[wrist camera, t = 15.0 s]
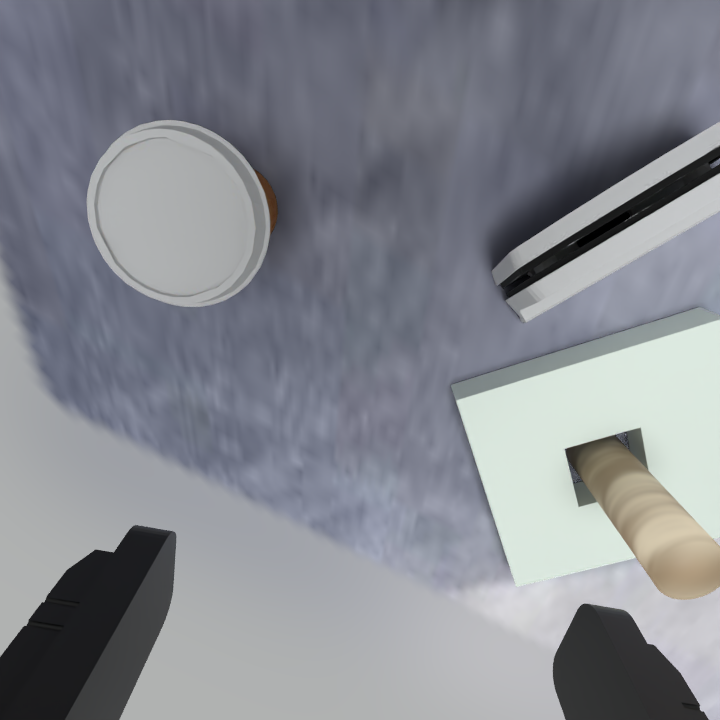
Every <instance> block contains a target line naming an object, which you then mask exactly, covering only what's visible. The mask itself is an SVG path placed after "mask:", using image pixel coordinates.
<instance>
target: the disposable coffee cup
mask: <svg viewBox="0 0 720 720" xmlns="http://www.w3.org/2000/svg"><path fill="white" fill-rule="evenodd" d="M87 212H88V221H89V225H90V229H91V232H92V236H93V238H94V241H95V243H96V245H97V248H98V249H99V251H100V253H101V254H102V256H103V258H104V260H105V261H106V262H107V264H108V265H109V266H110V267H111V269H112V270H113V271H114V272H115V273H116V274H117V275H118V276H119V277H120V278H121V279H122V280H123V281H124V282H125V283H127V284H128V285H130V286H131V287H133V288H134V289H136V290H137V291H139V292H141V293H143V294H145V295H147V296H148V297H151V298H154V299H157V300H160V301H162V302H165V303H168V304H172V305H177V306H182V307H202V306H208V305H213V304H216V303H219V302H222V301H225V300H227V299H228V298H230V297H232V296H233V295H235V294H237V293H238V292H239V291H241V290H242V289H243V288H244V287H245V286H246V285H248V284H249V283H250V281H251V280H252V278H253V277H254V275H255V274H256V273H257V271H258V270H259V268H260V267H261V265H262V262H263V260H264V258H265V255H266V252H267V248H268V244H269V240H270V235H271V233H272V231H273V230H274V227H275V224H276V221H277V215H278V210H277V201H276V197H275V194H274V192H273V190H272V187H271V186H270V184H269V183H268V181H267V180H266V179H265V178H264V177H263V176H262V175H261V174H260V173H259V172H258V171H256V170H255V169H253V168H252V167H251V166H250V164H249V163H248V162H247V160H246V159H245V158H244V157H243V155H242V154H241V153H240V152H239V151H238V150H237V149H236V148H235V147H234V146H233V145H231V144H230V143H229V142H228V141H226V140H225V139H223V138H222V137H220V136H219V135H217V134H216V133H214V132H212V131H210V130H208V129H205V128H203V127H201V126H199V125H195V124H191V123H187V122H183V121H175V120H163V121H154V122H150V123H146V124H141V125H139V126H137V127H135V128H133V129H131V130H130V131H128V132H126V133H124V134H123V135H122V136H121V137H120V138H118V139H117V140H116V141H115V142H114V143H112V144H111V146H110V147H109V149H108V150H107V152H106V153H105V154H104V155H103V156H102V157H101V158H100V160H99V162H98V164H97V166H96V168H95V170H94V172H93V174H92V176H91V180H90V184H89V188H88V194H87Z"/></svg>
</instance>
